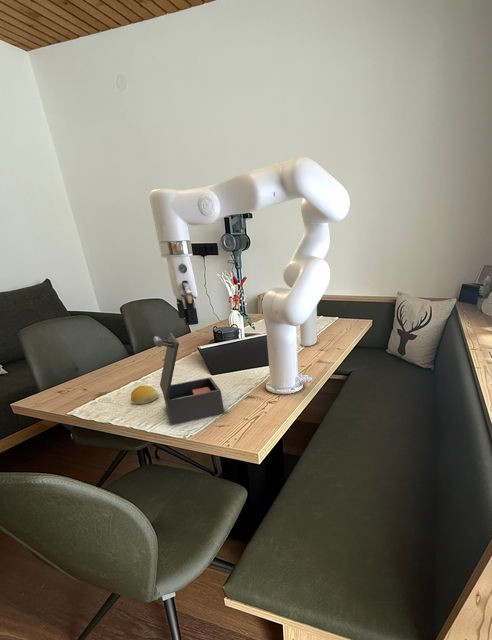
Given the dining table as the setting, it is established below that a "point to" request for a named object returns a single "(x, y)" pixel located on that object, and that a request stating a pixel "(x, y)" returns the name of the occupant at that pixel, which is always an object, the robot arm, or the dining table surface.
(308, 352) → the dining table surface
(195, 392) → the block
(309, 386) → the dining table surface
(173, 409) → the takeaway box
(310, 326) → the paper towel roll
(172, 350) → the lid
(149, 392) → the bread roll
